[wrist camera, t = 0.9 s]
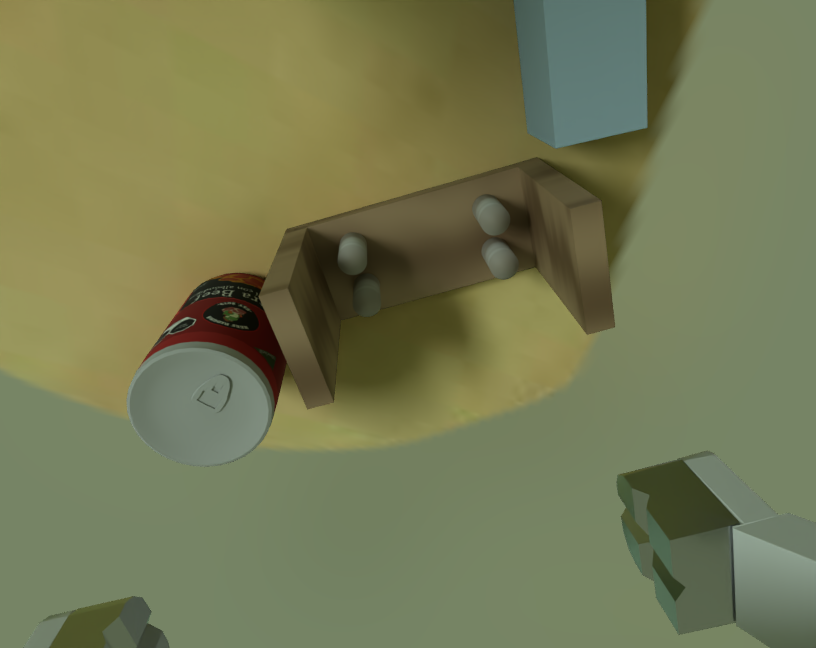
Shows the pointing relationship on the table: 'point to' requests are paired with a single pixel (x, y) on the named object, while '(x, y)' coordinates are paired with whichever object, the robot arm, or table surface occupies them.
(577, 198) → the peg stand
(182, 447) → the canned food
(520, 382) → the table surface
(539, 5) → the pale blue block
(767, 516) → the robot arm
